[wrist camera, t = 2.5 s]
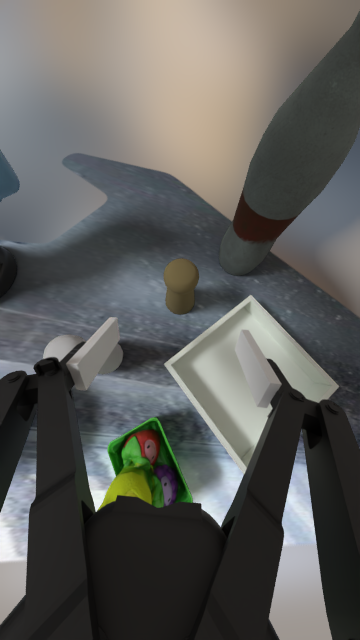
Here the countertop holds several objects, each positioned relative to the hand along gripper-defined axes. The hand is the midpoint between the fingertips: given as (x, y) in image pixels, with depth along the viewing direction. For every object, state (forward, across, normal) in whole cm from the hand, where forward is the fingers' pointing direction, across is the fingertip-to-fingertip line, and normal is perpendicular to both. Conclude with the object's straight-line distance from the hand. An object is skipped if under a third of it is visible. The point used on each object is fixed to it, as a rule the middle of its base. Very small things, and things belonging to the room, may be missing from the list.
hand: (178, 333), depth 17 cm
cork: (+16, 0, -3) cm, 16 cm away
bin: (+7, +12, -12) cm, 18 cm away
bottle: (+24, +11, +5) cm, 27 cm away
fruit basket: (-3, -3, -22) cm, 22 cm away
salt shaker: (+7, -12, -12) cm, 18 cm away
